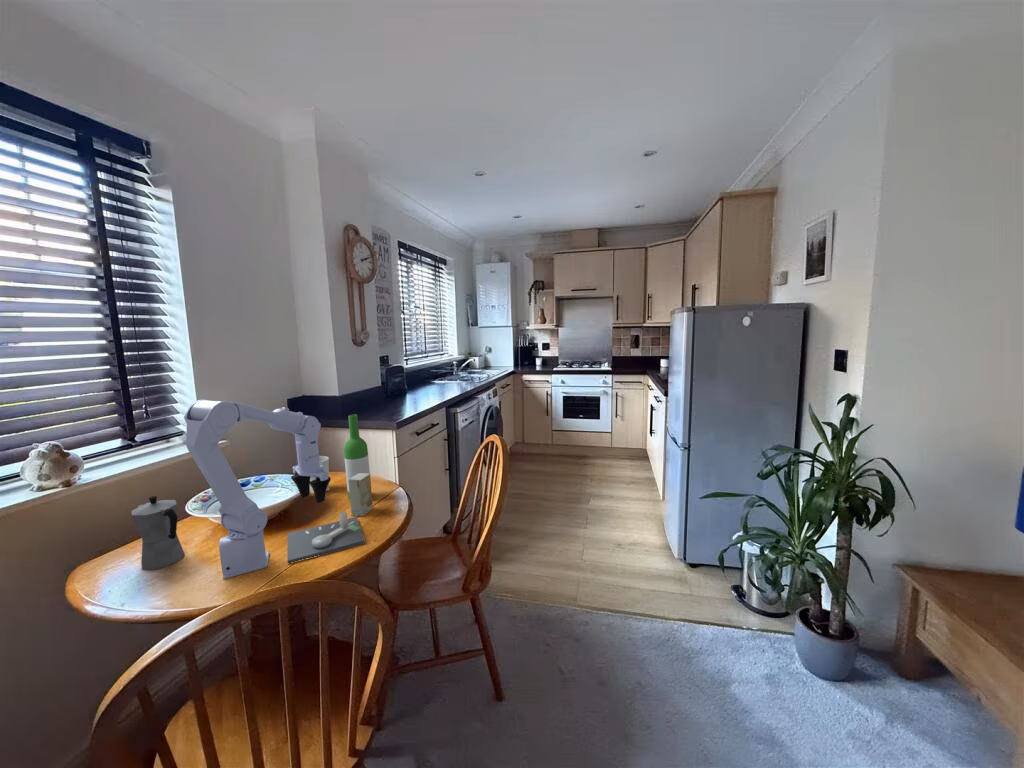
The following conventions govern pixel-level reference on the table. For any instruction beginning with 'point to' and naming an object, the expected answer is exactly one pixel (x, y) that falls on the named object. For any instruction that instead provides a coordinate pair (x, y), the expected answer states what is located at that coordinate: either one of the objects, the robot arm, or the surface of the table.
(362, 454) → the wine bottle
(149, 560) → the coffeepot
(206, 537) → the table surface
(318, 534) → the gauge board
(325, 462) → the cup
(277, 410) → the robot arm
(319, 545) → the tuning lever
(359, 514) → the skincare box
